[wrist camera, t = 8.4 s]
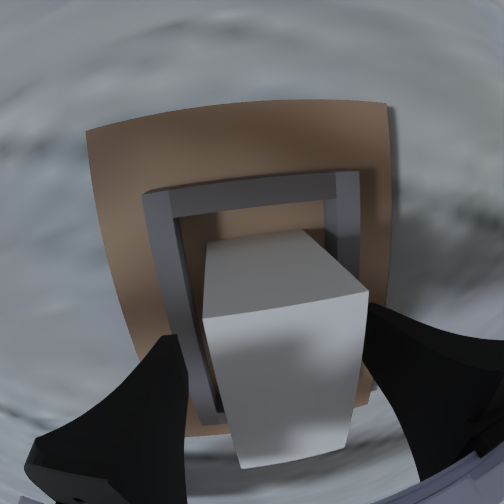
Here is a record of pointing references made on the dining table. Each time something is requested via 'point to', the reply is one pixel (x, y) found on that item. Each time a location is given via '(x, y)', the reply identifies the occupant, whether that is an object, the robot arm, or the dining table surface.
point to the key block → (283, 344)
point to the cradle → (236, 210)
